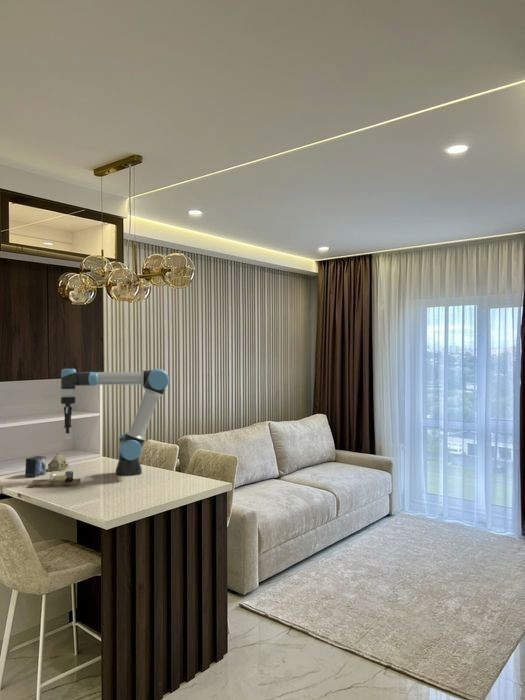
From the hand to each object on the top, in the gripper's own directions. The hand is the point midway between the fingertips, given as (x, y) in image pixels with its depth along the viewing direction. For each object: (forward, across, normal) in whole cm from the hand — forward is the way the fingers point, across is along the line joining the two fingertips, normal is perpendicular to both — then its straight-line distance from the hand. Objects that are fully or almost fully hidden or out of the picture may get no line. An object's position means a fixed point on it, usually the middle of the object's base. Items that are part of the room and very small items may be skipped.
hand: (67, 439), depth 296 cm
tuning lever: (+21, +12, -2) cm, 24 cm away
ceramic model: (+23, -34, -10) cm, 42 cm away
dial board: (+23, +10, -5) cm, 25 cm away
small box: (+23, -17, -19) cm, 34 cm away
